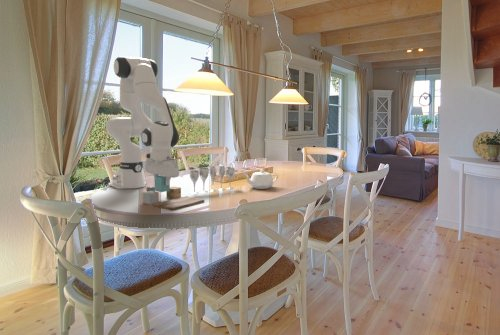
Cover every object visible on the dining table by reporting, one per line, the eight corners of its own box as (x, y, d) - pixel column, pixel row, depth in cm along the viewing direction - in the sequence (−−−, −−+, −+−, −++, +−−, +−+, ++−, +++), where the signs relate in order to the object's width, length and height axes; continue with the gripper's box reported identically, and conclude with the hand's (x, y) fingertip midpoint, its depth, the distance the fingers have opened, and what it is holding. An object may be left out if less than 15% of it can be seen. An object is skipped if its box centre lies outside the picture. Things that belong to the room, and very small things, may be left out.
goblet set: (193, 194, 181) (192, 169, 179) (187, 192, 185) (187, 168, 183) (237, 188, 198) (237, 165, 196) (231, 187, 202) (231, 164, 200)
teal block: (154, 190, 168) (154, 176, 166) (162, 188, 172) (162, 174, 170) (161, 192, 165) (161, 177, 164) (169, 190, 169) (169, 176, 168)
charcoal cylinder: (144, 197, 173) (144, 187, 172) (151, 195, 176) (151, 186, 175) (150, 198, 171) (149, 188, 170) (156, 197, 174) (156, 187, 173)
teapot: (272, 184, 213) (272, 167, 211) (282, 188, 200) (283, 170, 198) (238, 186, 204) (238, 168, 203) (247, 191, 192) (247, 172, 190)
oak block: (166, 198, 173) (166, 188, 172) (173, 196, 177) (172, 186, 176) (174, 199, 171) (174, 189, 170) (180, 197, 175) (180, 187, 174)
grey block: (143, 202, 162) (142, 192, 161) (151, 201, 166) (151, 190, 165) (150, 204, 159) (149, 194, 158) (158, 202, 163) (158, 192, 162)
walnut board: (154, 205, 157) (154, 203, 157) (186, 198, 173) (186, 196, 173) (172, 210, 150) (172, 208, 150) (204, 201, 166) (204, 199, 166)
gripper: (182, 157, 162) (182, 186, 164) (153, 153, 174) (153, 180, 176) (171, 158, 157) (171, 188, 159) (143, 154, 169) (143, 182, 171)
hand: (162, 184), depth 168 cm, fingers closed on teal block, 5 cm apart
